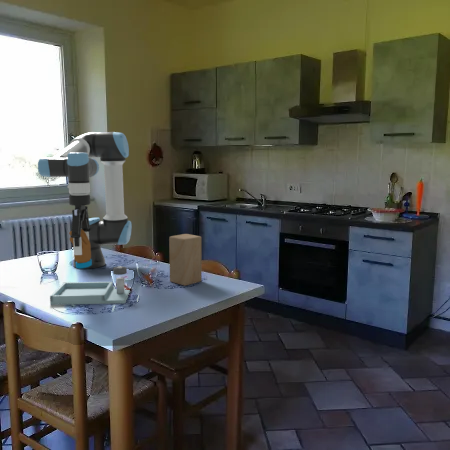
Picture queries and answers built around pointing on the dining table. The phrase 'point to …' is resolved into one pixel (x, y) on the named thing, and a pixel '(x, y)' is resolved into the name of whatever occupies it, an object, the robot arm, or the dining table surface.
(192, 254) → the wooden block
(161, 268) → the dining table surface
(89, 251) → the toy
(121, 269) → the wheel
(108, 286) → the tray
